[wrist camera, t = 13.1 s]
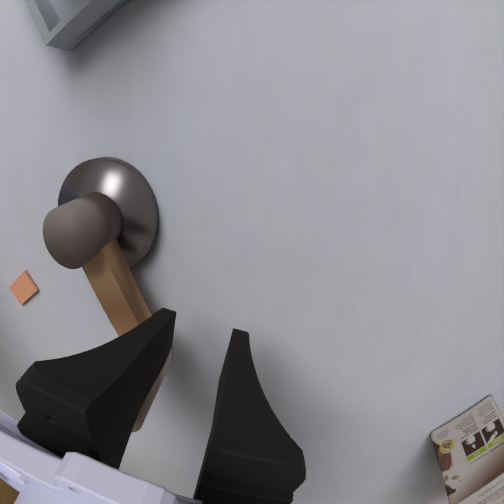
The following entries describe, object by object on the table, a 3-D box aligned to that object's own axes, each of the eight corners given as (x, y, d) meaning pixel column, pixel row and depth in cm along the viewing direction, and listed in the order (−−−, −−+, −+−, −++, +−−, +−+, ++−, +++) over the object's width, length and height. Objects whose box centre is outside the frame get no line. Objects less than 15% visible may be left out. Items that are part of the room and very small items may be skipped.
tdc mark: (22, 303, 19) (21, 305, 19) (11, 286, 18) (9, 287, 18) (38, 289, 18) (36, 290, 18) (26, 270, 17) (24, 271, 17)
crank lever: (68, 203, 14) (-12, 244, 9) (110, 183, 14) (26, 219, 8) (144, 358, 17) (105, 430, 12) (187, 352, 17) (154, 433, 11)
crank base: (104, 282, 17) (98, 288, 16) (49, 198, 15) (42, 201, 15) (181, 234, 15) (177, 239, 15) (118, 133, 14) (111, 134, 13)
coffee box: (426, 433, 20) (461, 599, 5) (491, 391, 18) (555, 550, 3) (450, 461, 22) (478, 585, 7) (503, 428, 20) (546, 549, 5)
